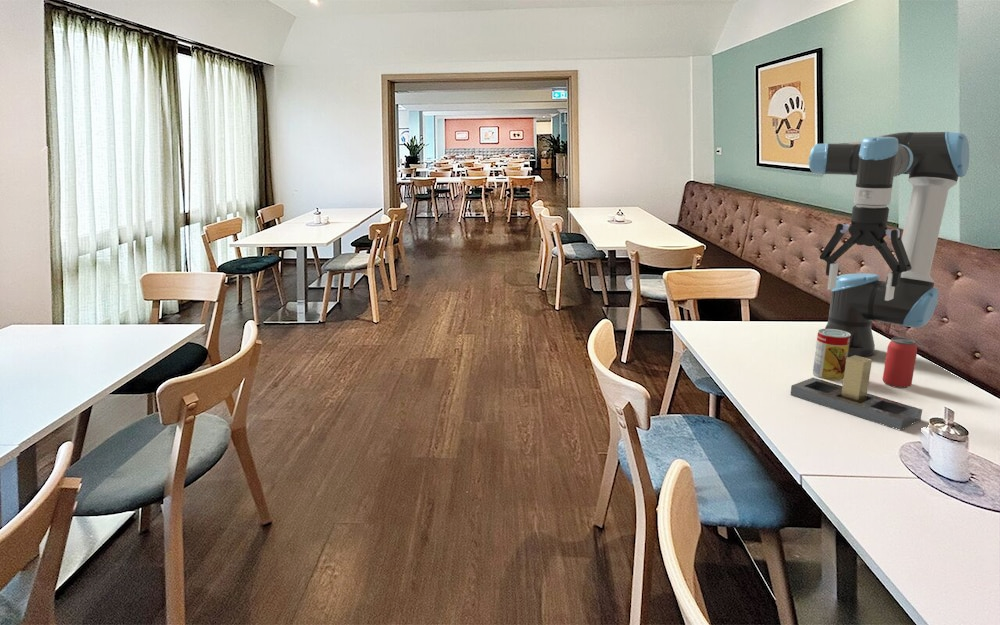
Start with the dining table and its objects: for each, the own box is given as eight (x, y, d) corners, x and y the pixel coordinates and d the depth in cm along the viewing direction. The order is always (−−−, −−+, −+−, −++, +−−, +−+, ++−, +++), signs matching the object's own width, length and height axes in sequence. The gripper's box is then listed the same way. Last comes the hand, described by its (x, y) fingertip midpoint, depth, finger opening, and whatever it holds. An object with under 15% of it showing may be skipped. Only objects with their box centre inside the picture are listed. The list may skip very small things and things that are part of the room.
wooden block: (847, 402, 165) (854, 355, 162) (864, 407, 162) (872, 359, 159) (839, 405, 163) (846, 358, 160) (856, 411, 160) (863, 362, 157)
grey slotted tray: (811, 386, 175) (812, 377, 175) (920, 419, 155) (922, 409, 155) (790, 394, 170) (791, 385, 169) (900, 430, 149) (902, 419, 149)
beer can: (910, 390, 173) (918, 345, 170) (881, 385, 177) (888, 341, 174) (911, 382, 179) (918, 339, 176) (882, 378, 182) (889, 335, 179)
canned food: (851, 379, 181) (857, 336, 178) (825, 381, 179) (831, 337, 176) (831, 369, 188) (837, 327, 185) (806, 371, 187) (811, 329, 184)
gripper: (811, 202, 166) (801, 287, 171) (922, 212, 147) (907, 307, 153) (826, 199, 170) (816, 282, 176) (936, 209, 151) (922, 301, 157)
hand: (859, 294), depth 164 cm, fingers open, 13 cm apart
